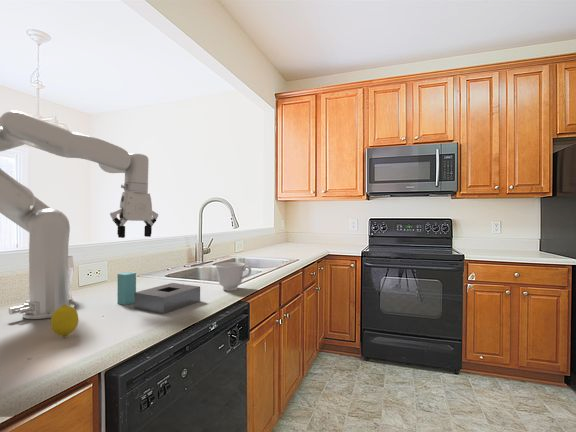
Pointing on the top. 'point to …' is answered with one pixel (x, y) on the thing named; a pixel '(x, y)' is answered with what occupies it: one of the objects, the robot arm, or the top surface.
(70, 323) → the lemon
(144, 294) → the socket block
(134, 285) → the square peg
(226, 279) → the teacup
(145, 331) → the top surface
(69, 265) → the beer glass
